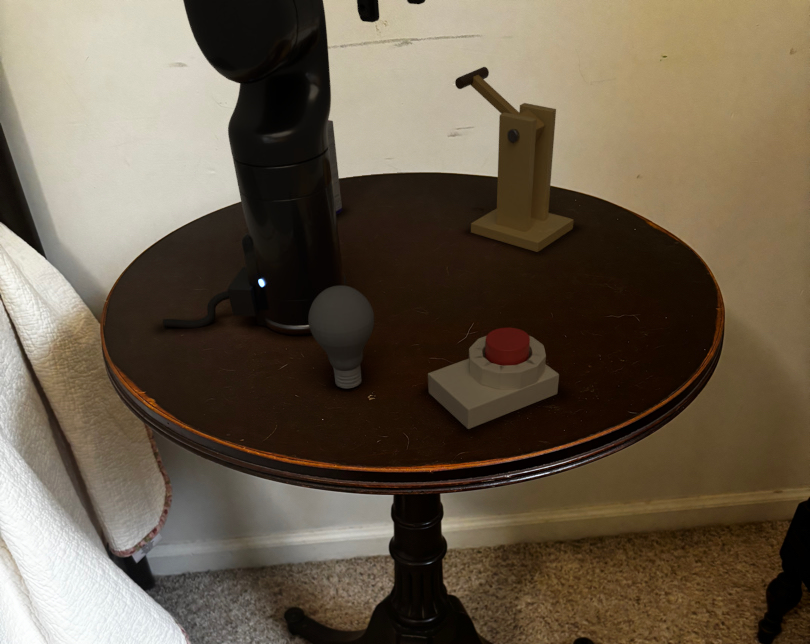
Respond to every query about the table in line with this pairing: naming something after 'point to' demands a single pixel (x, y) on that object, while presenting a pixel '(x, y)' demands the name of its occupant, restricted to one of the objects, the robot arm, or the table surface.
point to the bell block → (492, 385)
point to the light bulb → (342, 330)
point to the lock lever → (494, 95)
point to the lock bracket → (524, 184)
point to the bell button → (507, 346)
